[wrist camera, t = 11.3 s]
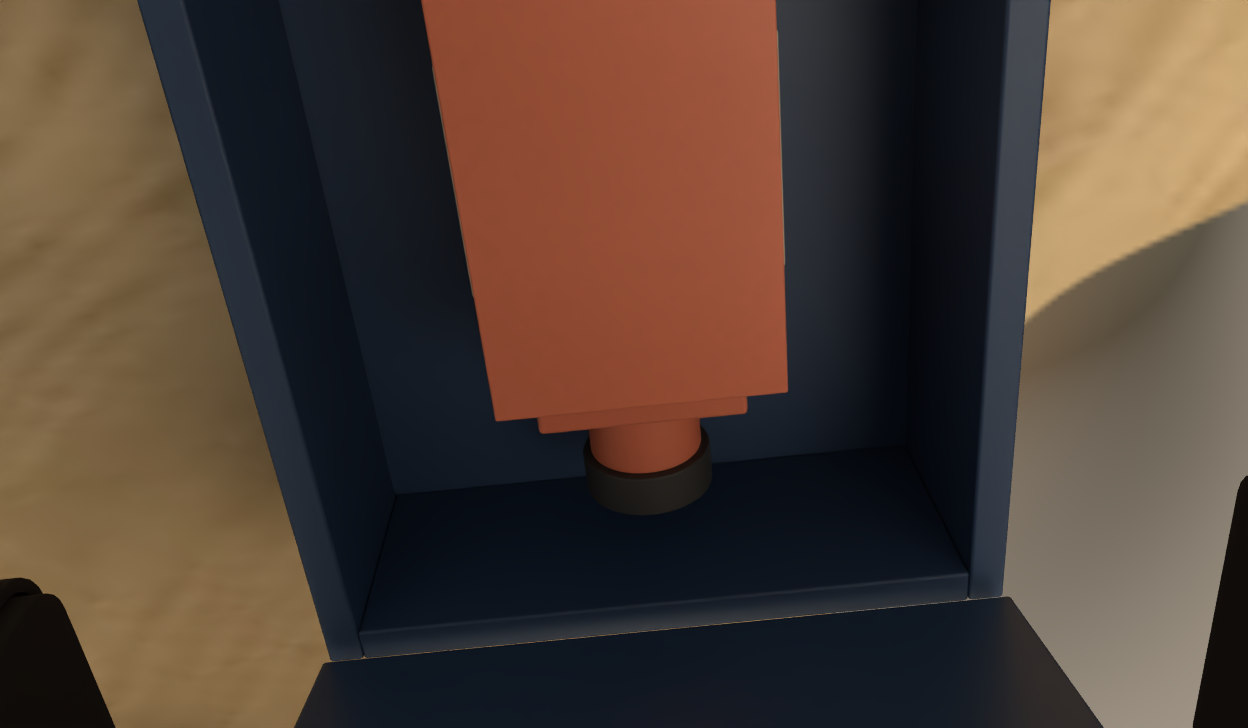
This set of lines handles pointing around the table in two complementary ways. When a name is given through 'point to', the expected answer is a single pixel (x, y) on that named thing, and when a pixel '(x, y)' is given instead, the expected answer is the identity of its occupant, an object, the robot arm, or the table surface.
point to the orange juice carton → (620, 221)
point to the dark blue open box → (553, 463)
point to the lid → (728, 677)
